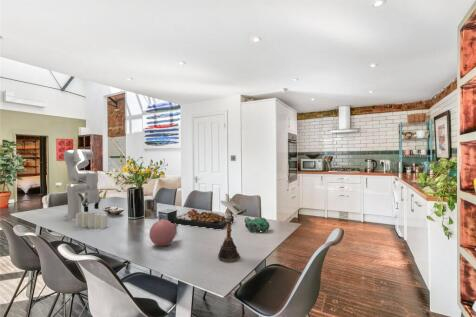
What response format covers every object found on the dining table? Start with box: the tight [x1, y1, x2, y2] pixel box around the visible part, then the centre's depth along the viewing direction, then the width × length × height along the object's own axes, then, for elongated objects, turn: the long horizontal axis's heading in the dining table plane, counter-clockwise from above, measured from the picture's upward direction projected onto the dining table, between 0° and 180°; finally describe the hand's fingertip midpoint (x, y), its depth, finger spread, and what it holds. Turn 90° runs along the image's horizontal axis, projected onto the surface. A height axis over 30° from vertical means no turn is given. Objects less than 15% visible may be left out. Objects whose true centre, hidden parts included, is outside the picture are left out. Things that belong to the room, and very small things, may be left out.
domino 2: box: [81, 212, 90, 229], centre depth 181 cm, size 2×5×10 cm, turn 168°
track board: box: [78, 226, 106, 230], centre depth 180 cm, size 27×9×1 cm, turn 78°
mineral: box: [244, 216, 270, 233], centre depth 175 cm, size 18×16×10 cm
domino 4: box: [93, 213, 102, 230], centre depth 179 cm, size 2×5×10 cm, turn 168°
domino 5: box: [100, 213, 109, 230], centre depth 178 cm, size 2×5×10 cm, turn 168°
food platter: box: [175, 208, 235, 230], centre depth 196 cm, size 45×25×10 cm, turn 68°
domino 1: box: [75, 211, 84, 228], centre depth 182 cm, size 2×5×10 cm, turn 168°
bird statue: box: [217, 193, 247, 263], centre depth 127 cm, size 17×13×35 cm
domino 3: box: [87, 212, 96, 229], centre depth 180 cm, size 2×5×10 cm, turn 167°
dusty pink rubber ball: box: [148, 219, 179, 247], centre depth 148 cm, size 15×20×15 cm
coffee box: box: [143, 198, 158, 220], centre depth 211 cm, size 9×6×16 cm
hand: (91, 210), depth 180 cm, fingers open, 9 cm apart
